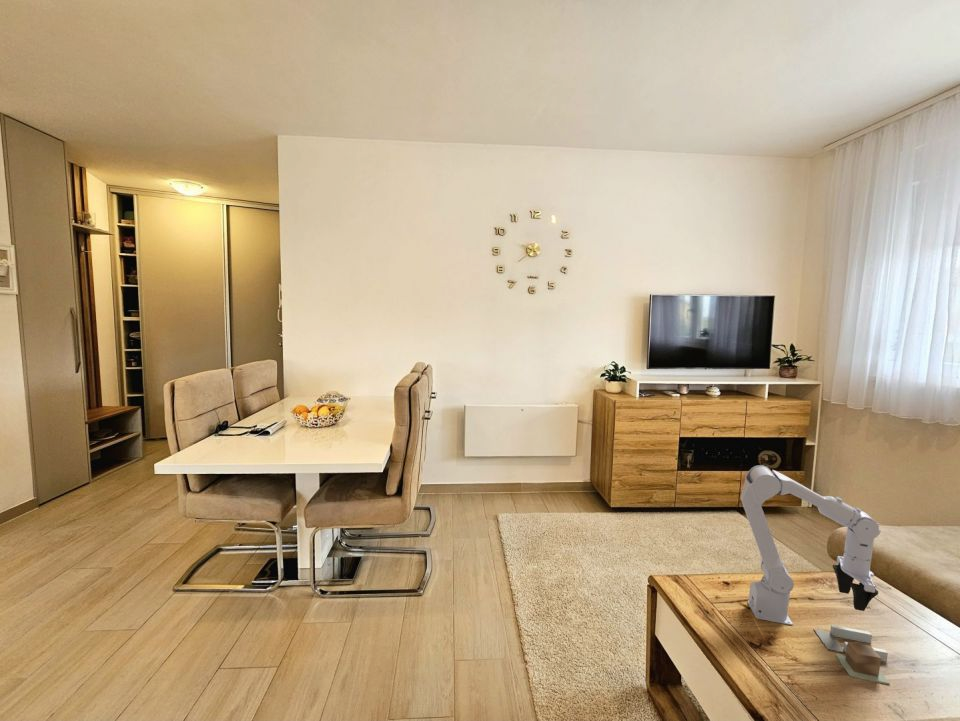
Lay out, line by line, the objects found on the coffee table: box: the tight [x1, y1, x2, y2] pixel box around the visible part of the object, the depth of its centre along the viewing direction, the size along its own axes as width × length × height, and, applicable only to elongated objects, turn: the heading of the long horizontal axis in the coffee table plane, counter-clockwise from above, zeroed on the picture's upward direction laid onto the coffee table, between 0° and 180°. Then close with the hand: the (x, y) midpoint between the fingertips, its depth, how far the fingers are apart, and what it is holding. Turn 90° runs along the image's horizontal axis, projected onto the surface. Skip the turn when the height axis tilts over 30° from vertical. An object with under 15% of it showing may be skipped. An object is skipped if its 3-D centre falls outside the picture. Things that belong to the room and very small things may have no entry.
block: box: [845, 641, 882, 677], centre depth 109 cm, size 5×4×5 cm
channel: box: [813, 624, 889, 663], centre depth 117 cm, size 13×8×2 cm, turn 75°
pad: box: [834, 653, 890, 686], centre depth 109 cm, size 8×7×1 cm
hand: (851, 600), depth 121 cm, fingers open, 7 cm apart
